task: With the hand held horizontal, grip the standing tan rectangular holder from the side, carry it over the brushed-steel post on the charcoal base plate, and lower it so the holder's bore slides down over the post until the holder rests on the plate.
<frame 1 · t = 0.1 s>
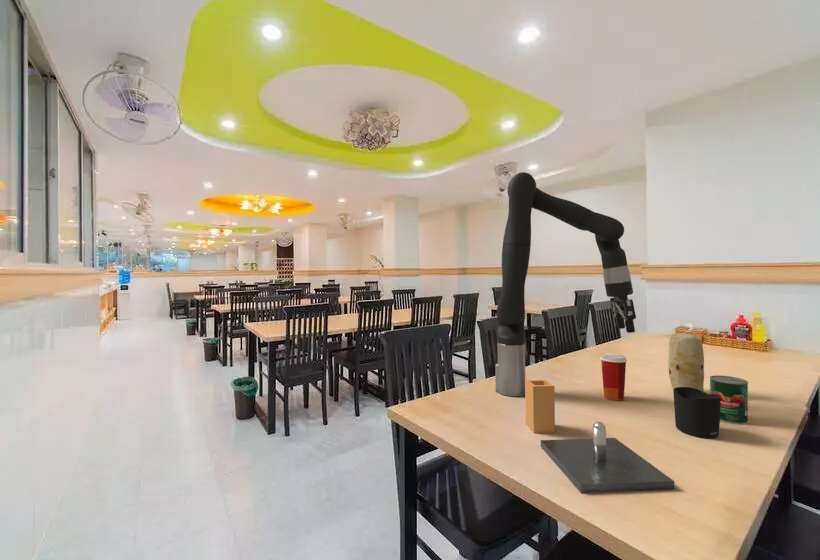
hand: (626, 330, 114), 22 cm above the table, tool pointing down, fingers open, 8 cm apart
food model: (685, 393, 120), on the table
shaft stand: (599, 465, 75), on the table
pen holder: (696, 432, 90), on the table
paper cup: (613, 398, 115), on the table
tan rectangular holder: (539, 427, 93), on the table
canned tomato: (728, 419, 98), on the table
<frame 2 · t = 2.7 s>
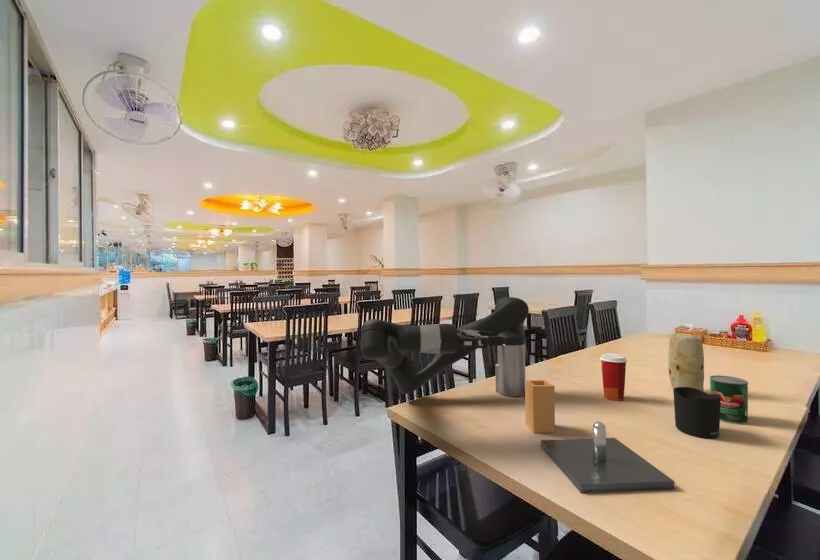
hand: (498, 338, 93), 24 cm above the table, tool horizontal, fingers open, 8 cm apart
nothing on the table moved.
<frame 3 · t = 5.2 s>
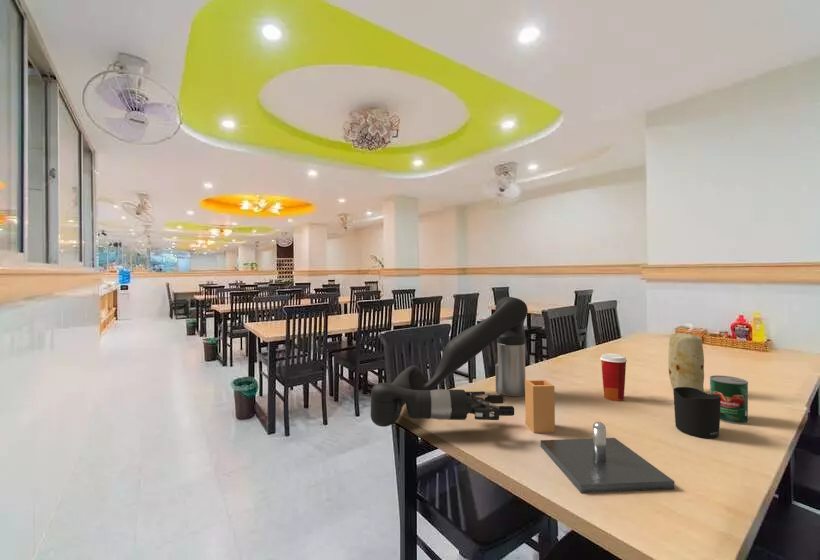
hand: (508, 404, 93), 7 cm above the table, tool horizontal, fingers open, 8 cm apart
nothing on the table moved.
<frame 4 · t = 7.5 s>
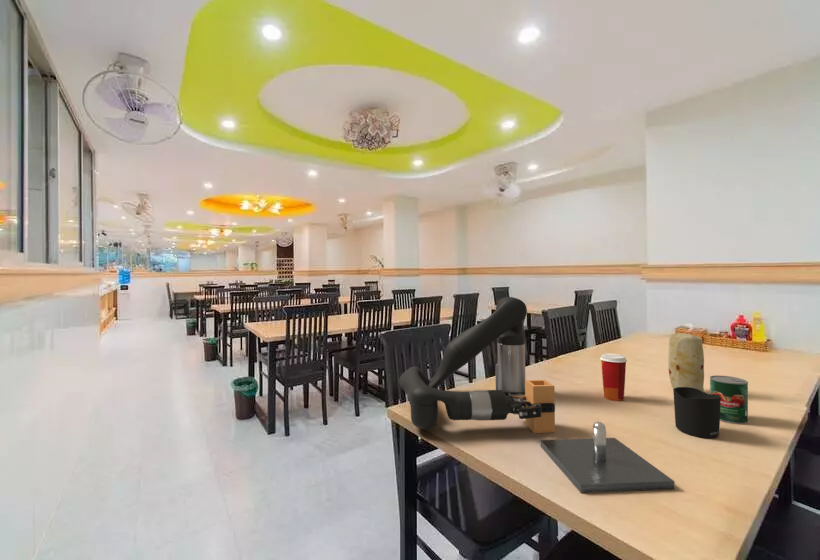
hand: (548, 403, 94), 7 cm above the table, tool horizontal, fingers closed on tan rectangular holder, 5 cm apart
tan rectangular holder: (539, 427, 93), on the table, touching gripper
everything else where it was.
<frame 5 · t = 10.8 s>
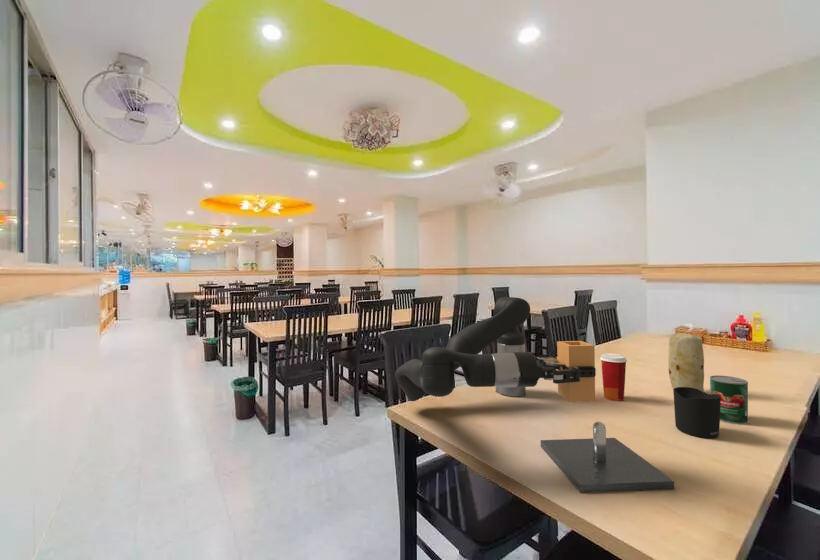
hand: (586, 367, 78), 20 cm above the table, tool horizontal, fingers closed on tan rectangular holder, 5 cm apart
tan rectangular holder: (575, 397, 78), point 13 cm above the table, touching gripper
everything else where it was.
when the fingers open (10 cm above the table, at t = 14.3 s): tan rectangular holder drops 2 cm, resting on shaft stand.
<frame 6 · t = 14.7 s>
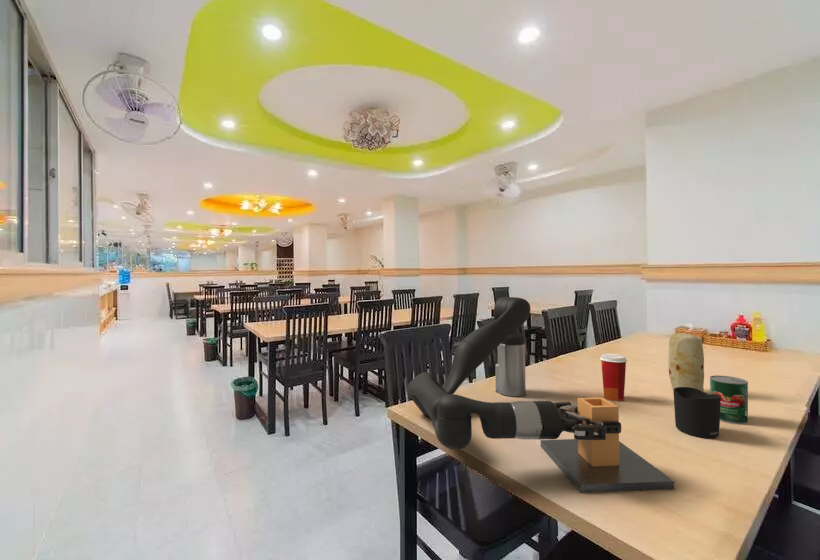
hand: (607, 418, 74), 10 cm above the table, tool horizontal, fingers open, 8 cm apart
tan rectangular holder: (598, 458, 74), point 2 cm above the table, touching shaft stand
everything else where it was.
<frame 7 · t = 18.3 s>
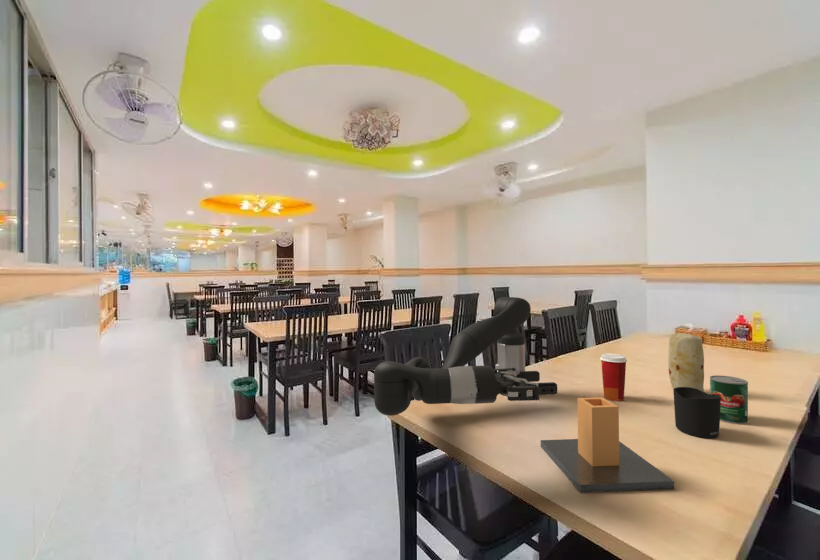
hand: (547, 381, 73), 18 cm above the table, tool horizontal, fingers open, 8 cm apart
nothing on the table moved.
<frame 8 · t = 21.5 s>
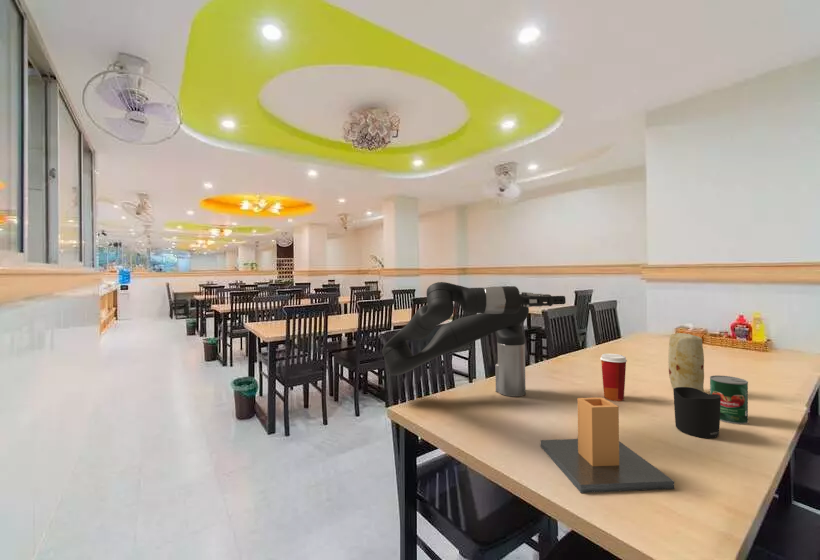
hand: (557, 299, 97), 34 cm above the table, tool horizontal, fingers open, 8 cm apart
nothing on the table moved.
at the end: tan rectangular holder 0.4 cm off-centre on the shaft stand, point 1.5 cm above the shaft stand's base; tan rectangular holder tilted 0°; the gripper is holding nothing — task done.
